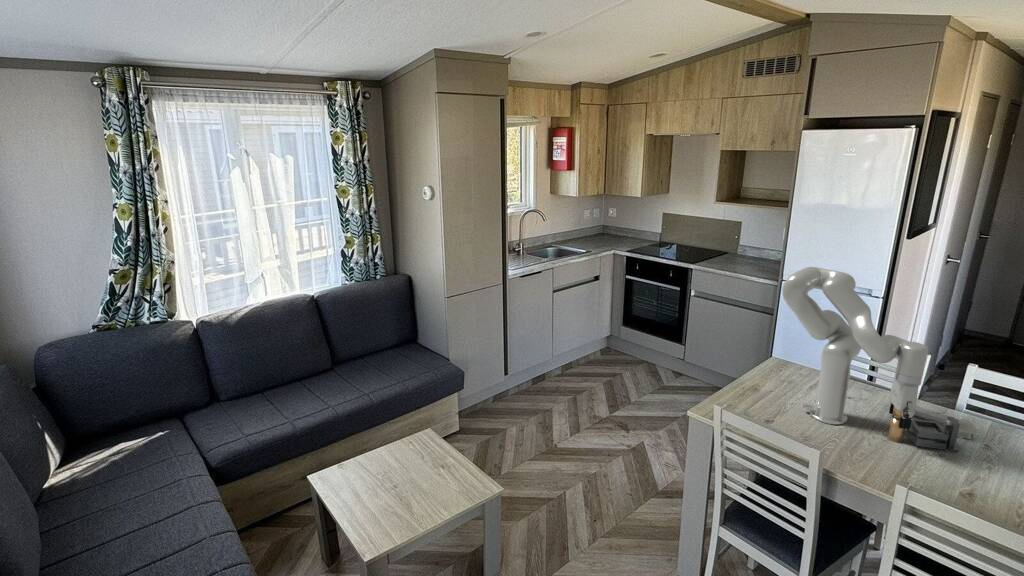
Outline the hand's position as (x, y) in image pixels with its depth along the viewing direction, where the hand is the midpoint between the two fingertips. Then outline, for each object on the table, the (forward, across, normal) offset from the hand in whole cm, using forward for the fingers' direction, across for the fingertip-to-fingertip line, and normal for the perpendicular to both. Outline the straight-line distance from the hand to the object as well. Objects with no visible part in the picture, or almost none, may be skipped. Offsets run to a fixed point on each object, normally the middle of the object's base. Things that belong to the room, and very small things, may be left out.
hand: (898, 421), depth 190 cm
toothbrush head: (+8, -15, +17) cm, 24 cm away
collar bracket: (+7, 0, +11) cm, 13 cm away
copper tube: (+7, 0, 0) cm, 7 cm away
